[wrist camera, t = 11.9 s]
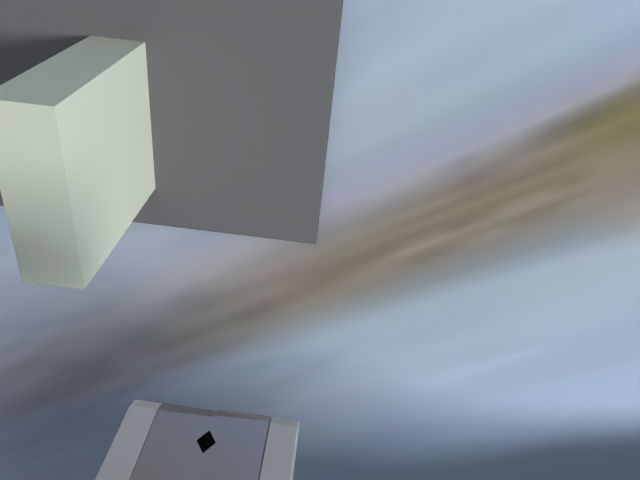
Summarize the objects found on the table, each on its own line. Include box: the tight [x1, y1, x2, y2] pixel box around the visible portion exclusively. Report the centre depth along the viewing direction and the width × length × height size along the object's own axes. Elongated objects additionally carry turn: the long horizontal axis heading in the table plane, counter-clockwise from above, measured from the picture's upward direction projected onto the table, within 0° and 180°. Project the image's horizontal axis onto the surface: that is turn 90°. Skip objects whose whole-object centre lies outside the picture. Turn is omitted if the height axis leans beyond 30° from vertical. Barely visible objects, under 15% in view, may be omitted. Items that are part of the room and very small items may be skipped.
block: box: [0, 36, 155, 289], centre depth 19 cm, size 2×6×7 cm, turn 174°
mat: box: [0, 0, 343, 244], centre depth 22 cm, size 14×10×1 cm
